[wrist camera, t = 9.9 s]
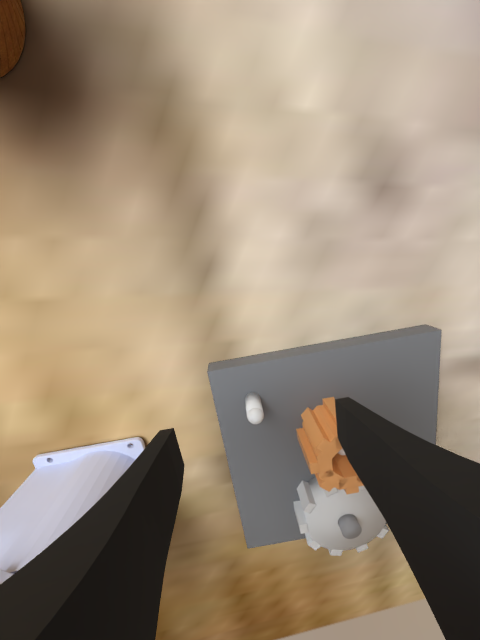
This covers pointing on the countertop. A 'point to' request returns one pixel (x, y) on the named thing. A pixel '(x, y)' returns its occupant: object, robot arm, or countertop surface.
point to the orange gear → (326, 449)
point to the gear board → (285, 417)
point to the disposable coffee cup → (11, 34)
